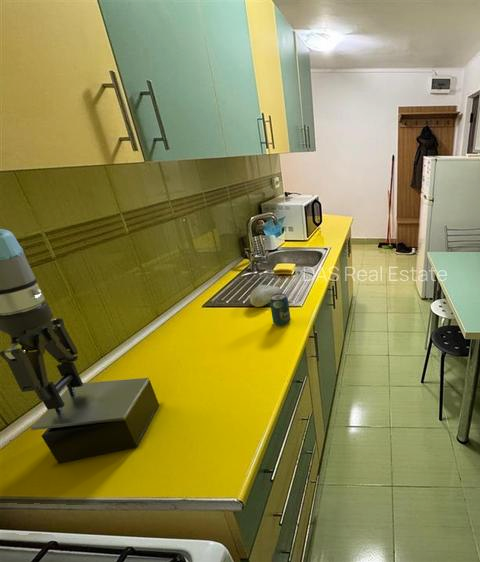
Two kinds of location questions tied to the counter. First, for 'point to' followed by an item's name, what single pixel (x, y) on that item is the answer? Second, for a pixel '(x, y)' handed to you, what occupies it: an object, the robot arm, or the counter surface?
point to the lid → (92, 402)
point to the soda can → (280, 309)
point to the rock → (263, 295)
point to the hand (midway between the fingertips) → (66, 396)
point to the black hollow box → (103, 432)
